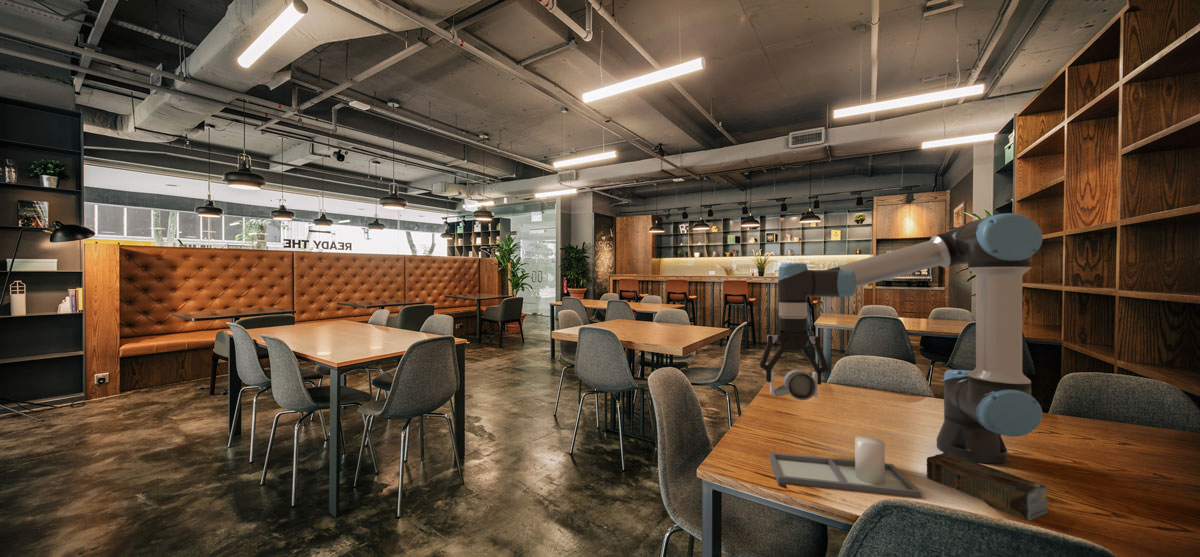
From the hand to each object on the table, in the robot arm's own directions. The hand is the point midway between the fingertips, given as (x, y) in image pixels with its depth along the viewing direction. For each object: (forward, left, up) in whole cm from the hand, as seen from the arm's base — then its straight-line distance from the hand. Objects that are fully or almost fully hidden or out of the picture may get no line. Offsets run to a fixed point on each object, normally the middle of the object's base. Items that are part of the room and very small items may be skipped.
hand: (793, 394), depth 123 cm
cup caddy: (-7, +17, -16) cm, 24 cm away
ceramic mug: (0, 0, -1) cm, 1 cm away
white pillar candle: (-14, +17, -15) cm, 26 cm away
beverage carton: (-36, +18, -16) cm, 43 cm away
